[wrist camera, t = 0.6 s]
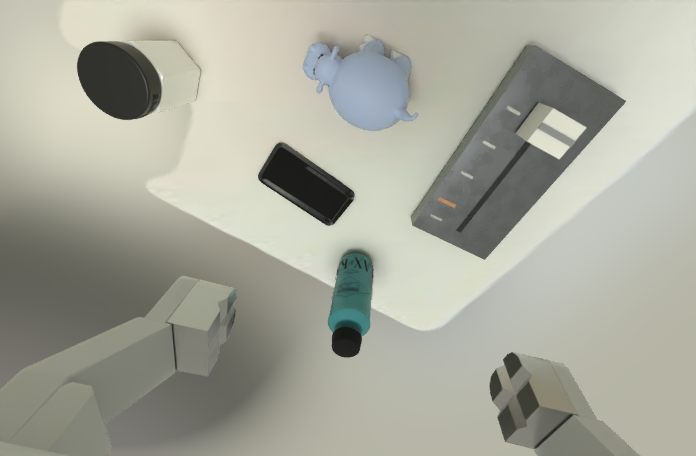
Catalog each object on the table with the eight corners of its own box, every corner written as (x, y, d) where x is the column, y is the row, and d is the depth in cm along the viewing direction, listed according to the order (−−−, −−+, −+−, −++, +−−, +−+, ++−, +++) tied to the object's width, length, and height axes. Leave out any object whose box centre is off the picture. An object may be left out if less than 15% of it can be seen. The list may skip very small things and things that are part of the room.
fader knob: (538, 102, 41) (554, 108, 37) (569, 120, 42) (587, 128, 38) (515, 133, 43) (527, 142, 40) (545, 150, 44) (560, 159, 40)
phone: (330, 227, 56) (255, 178, 53) (331, 224, 57) (257, 176, 54) (357, 195, 53) (278, 140, 49) (357, 192, 54) (280, 138, 50)
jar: (155, 106, 49) (95, 124, 39) (132, 45, 45) (58, 47, 35) (210, 100, 48) (163, 117, 37) (191, 37, 44) (133, 36, 33)
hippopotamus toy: (329, 11, 41) (316, 4, 33) (429, 69, 43) (441, 75, 35) (298, 92, 46) (281, 103, 38) (389, 140, 49) (391, 160, 40)
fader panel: (526, 45, 41) (536, 46, 38) (611, 97, 43) (626, 101, 40) (410, 216, 55) (412, 225, 52) (479, 249, 57) (484, 260, 54)
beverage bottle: (379, 268, 61) (379, 358, 43) (349, 279, 63) (337, 370, 45) (363, 241, 58) (356, 326, 41) (332, 254, 60) (312, 340, 43)
